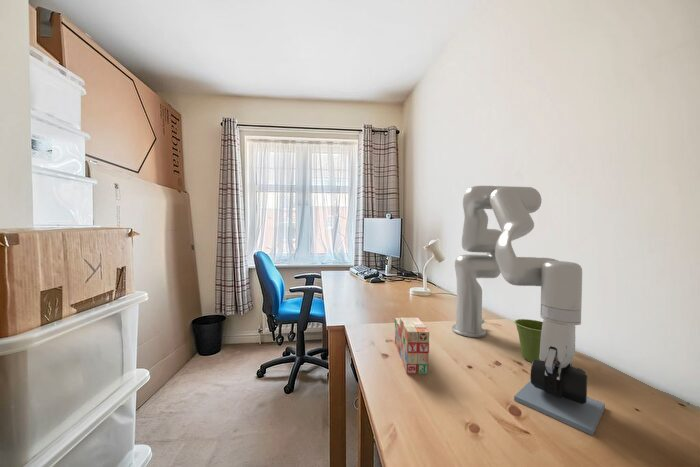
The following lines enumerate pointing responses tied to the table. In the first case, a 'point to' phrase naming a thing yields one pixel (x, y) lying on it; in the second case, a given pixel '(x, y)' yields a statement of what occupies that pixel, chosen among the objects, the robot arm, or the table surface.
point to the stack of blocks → (412, 344)
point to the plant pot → (529, 338)
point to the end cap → (571, 379)
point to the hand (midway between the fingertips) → (558, 387)
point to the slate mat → (562, 408)
